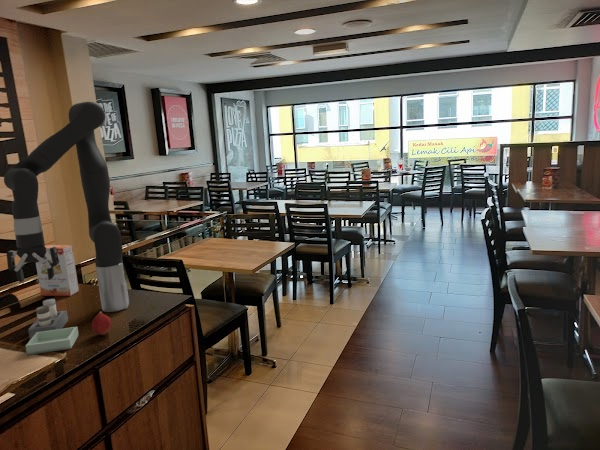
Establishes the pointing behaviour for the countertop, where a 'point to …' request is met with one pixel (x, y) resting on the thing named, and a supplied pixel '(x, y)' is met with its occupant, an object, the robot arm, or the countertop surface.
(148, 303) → the countertop surface
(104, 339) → the countertop surface
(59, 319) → the block
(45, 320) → the cylinder
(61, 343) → the parts tray
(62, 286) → the cracker box
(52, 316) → the ball
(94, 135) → the robot arm
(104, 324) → the onion
